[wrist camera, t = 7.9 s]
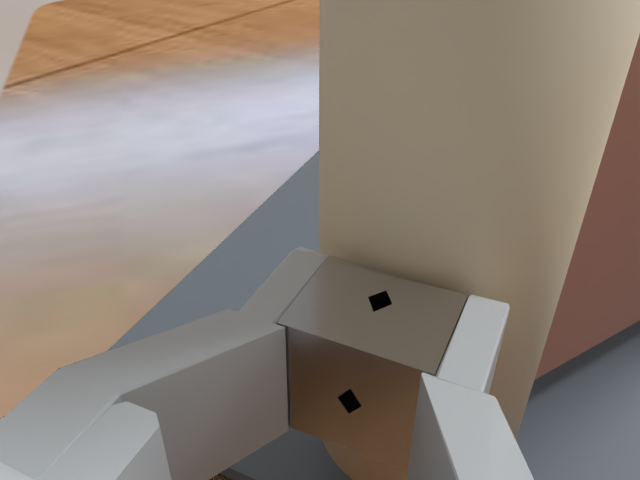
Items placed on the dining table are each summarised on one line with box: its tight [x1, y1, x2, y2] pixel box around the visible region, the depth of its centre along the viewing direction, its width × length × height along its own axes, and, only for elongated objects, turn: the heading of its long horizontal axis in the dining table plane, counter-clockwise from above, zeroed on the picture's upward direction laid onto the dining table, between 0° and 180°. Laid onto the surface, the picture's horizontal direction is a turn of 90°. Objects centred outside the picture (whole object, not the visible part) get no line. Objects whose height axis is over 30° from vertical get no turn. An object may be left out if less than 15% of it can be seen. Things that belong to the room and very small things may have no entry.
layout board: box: [108, 151, 640, 480], centre depth 19 cm, size 22×24×1 cm
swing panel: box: [319, 0, 640, 480], centre depth 11 cm, size 13×4×10 cm, turn 122°
